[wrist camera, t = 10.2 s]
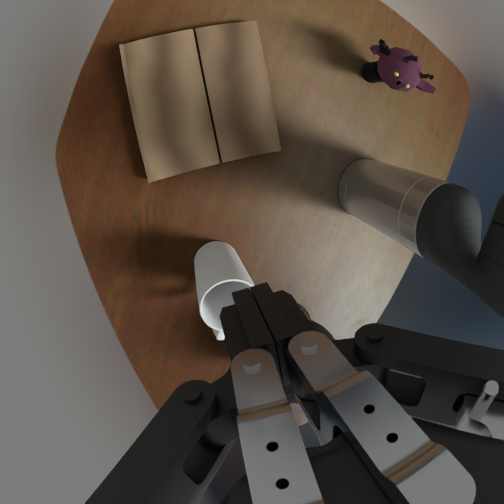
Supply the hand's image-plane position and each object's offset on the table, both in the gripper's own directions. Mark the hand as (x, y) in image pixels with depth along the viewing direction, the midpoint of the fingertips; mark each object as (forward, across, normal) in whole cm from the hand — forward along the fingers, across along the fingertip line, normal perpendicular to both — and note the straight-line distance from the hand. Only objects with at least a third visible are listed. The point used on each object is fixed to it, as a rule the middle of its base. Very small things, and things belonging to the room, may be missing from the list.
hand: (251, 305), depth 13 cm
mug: (+29, +1, +13) cm, 32 cm away
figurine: (+29, -28, -12) cm, 42 cm away
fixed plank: (+29, -7, -11) cm, 32 cm away
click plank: (+29, +2, -11) cm, 31 cm away
